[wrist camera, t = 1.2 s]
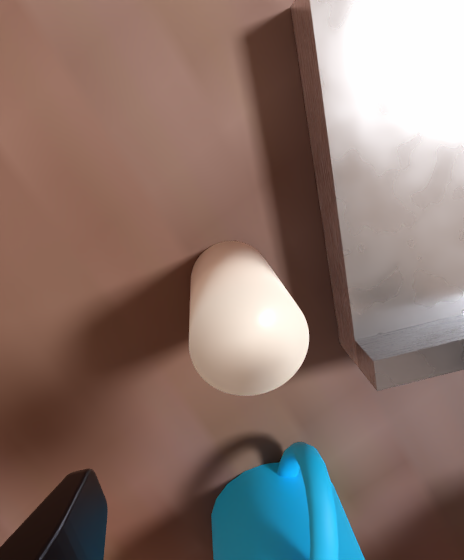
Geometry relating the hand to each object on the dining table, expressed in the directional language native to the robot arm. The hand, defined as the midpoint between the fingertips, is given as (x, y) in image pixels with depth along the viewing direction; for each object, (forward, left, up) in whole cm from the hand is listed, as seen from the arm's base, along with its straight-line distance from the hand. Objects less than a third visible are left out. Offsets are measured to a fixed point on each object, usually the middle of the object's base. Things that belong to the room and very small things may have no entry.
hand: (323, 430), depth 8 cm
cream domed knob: (-1, +1, -12) cm, 12 cm away
